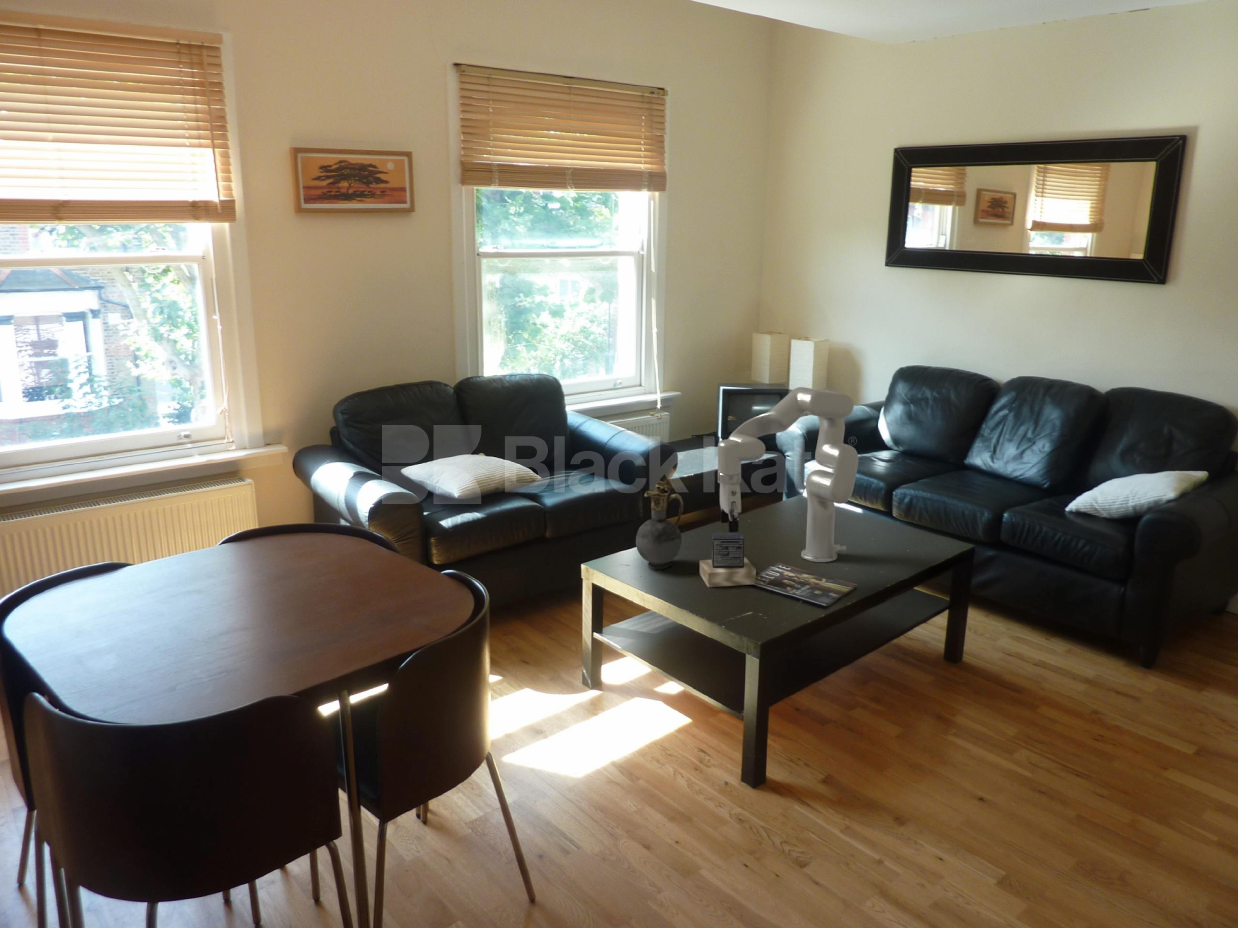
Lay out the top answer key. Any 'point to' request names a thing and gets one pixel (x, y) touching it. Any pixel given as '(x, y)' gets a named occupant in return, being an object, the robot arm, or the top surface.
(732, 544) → the small box
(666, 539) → the pitcher
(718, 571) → the birch riser
